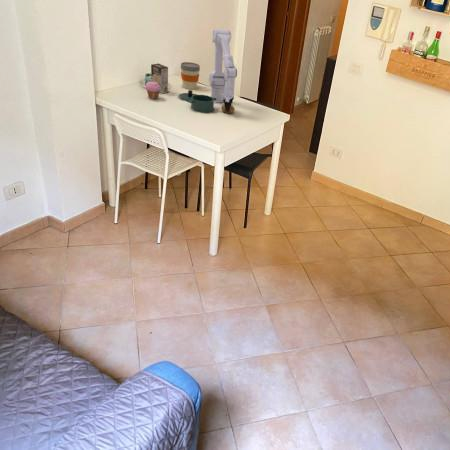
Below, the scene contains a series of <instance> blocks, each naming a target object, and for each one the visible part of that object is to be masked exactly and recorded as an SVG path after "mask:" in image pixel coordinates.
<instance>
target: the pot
mask: <svg viewBox="0 0 450 450" xmlns="http://www.w3.org/2000/svg"><path fill="white" fill-rule="evenodd" d="M214 100H216V98H214V97H213V98H212V97H211V95H207V94H197V95H193V96H192V97H191V100H188V101H187V102H188V103H189V104H190V107H191V110H192V111H195V112H198V113H213V111H214V109H215V108H214V106H215V102H214Z"/></svg>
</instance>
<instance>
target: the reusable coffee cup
mask: <svg viewBox="0 0 450 450" xmlns="http://www.w3.org/2000/svg"><path fill="white" fill-rule="evenodd" d="M200 70H201V67H200V64H198V63H195V62H190V61H189V62H188V61H184V62H181V63H180V75H181V77H180V78H181V81H182V87H183V88H184V89H187V90H196V89H197V87H198V82H199V79H200Z"/></svg>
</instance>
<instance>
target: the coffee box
mask: <svg viewBox="0 0 450 450" xmlns="http://www.w3.org/2000/svg"><path fill="white" fill-rule="evenodd" d="M150 75H151V77H150V78H151V79H150V80H151V81H150V82H157V83H158V84H159V85H160V87H161V90H160V91H159V94H166V93H168V92H169V66H166V65H163V64H162V63H152V64H150Z"/></svg>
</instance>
